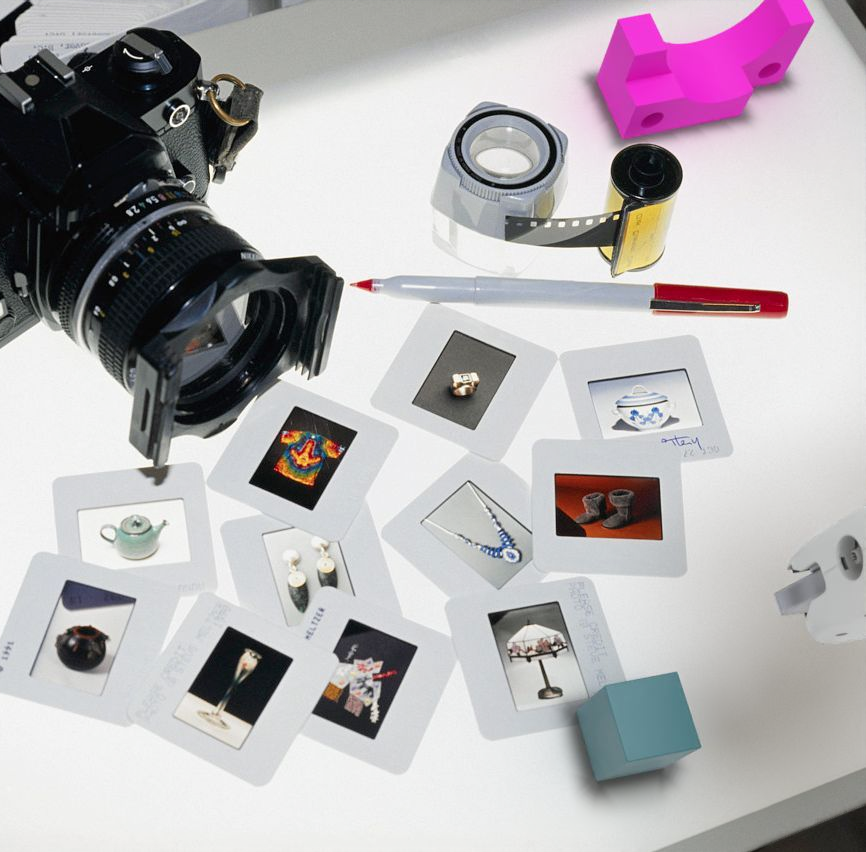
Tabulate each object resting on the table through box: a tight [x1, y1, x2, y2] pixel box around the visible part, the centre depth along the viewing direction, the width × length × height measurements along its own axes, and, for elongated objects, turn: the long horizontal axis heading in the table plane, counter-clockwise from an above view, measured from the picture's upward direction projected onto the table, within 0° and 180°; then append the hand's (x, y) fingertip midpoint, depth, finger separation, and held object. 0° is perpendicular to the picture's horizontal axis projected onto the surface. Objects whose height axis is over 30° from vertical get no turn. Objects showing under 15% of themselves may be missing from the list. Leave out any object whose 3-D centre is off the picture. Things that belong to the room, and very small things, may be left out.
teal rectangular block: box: [575, 671, 702, 782], centre depth 76 cm, size 5×5×8 cm
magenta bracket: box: [595, 0, 815, 140], centre depth 98 cm, size 15×6×8 cm, turn 104°
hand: (825, 616), depth 71 cm, fingers closed
